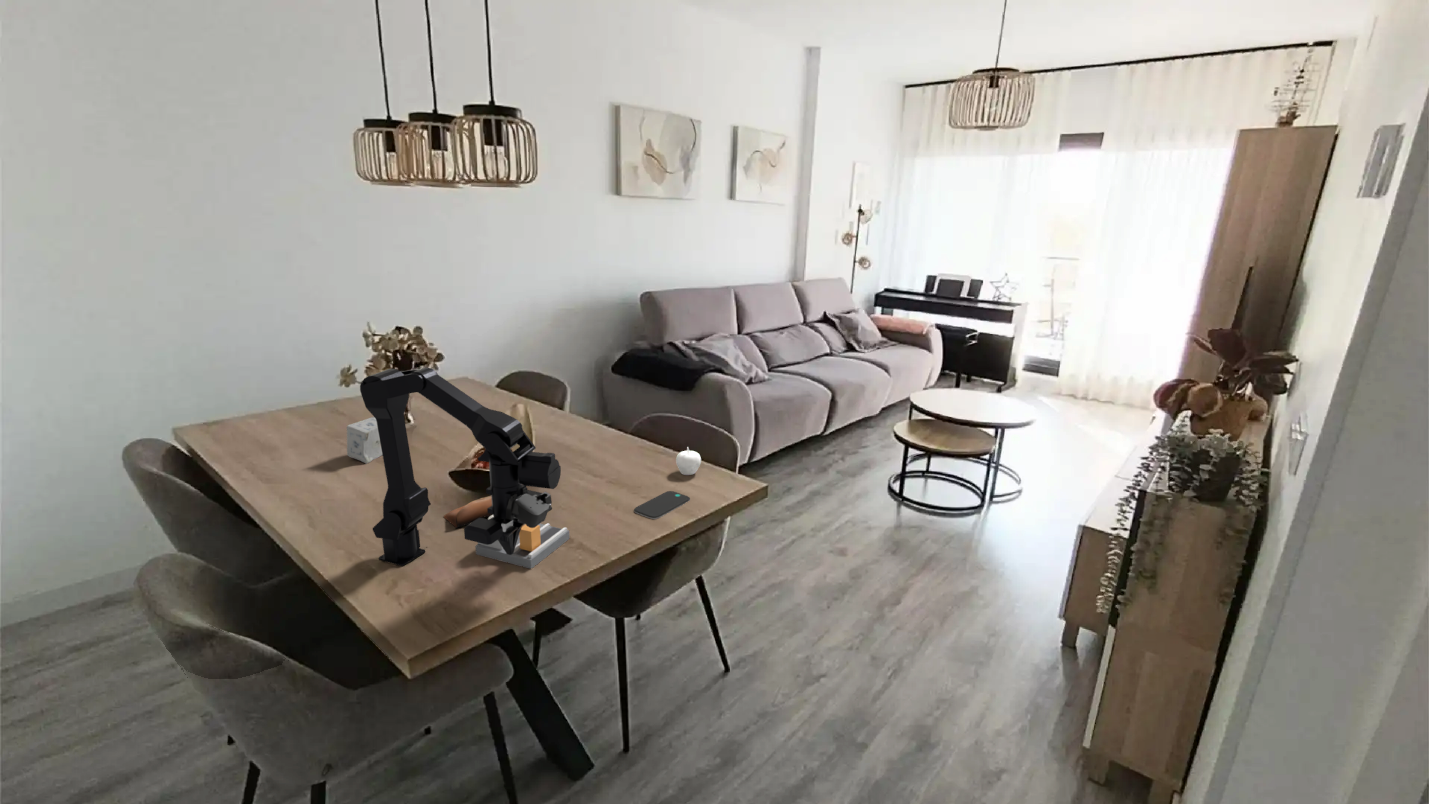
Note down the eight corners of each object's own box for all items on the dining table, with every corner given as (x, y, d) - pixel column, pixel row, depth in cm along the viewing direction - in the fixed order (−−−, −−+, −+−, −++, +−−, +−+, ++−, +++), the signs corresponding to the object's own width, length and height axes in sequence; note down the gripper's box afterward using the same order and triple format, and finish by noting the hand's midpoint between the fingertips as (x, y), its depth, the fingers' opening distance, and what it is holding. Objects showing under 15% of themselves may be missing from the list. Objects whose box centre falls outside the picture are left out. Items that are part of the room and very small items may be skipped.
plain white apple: (670, 474, 183) (671, 447, 181) (683, 466, 189) (684, 440, 187) (692, 479, 180) (693, 452, 178) (704, 471, 186) (705, 445, 184)
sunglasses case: (509, 494, 167) (515, 477, 163) (522, 515, 164) (529, 498, 160) (440, 516, 154) (445, 499, 150) (453, 539, 151) (458, 522, 147)
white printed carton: (369, 464, 182) (364, 429, 179) (346, 460, 185) (342, 425, 182) (397, 453, 191) (393, 419, 188) (375, 448, 194) (371, 415, 191)
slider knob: (532, 551, 136) (531, 531, 135) (520, 548, 137) (519, 528, 136) (540, 545, 139) (539, 525, 138) (528, 542, 140) (527, 522, 139)
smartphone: (692, 497, 168) (655, 518, 156) (692, 500, 169) (654, 521, 157) (669, 489, 172) (631, 509, 161) (669, 492, 173) (631, 512, 161)
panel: (531, 568, 134) (530, 549, 133) (475, 554, 139) (474, 535, 138) (569, 538, 147) (569, 520, 145) (517, 525, 151) (516, 508, 150)
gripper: (509, 509, 116) (514, 586, 121) (568, 472, 133) (570, 541, 137) (459, 498, 120) (465, 573, 124) (522, 463, 137) (526, 530, 141)
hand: (510, 553), depth 132 cm, fingers closed
